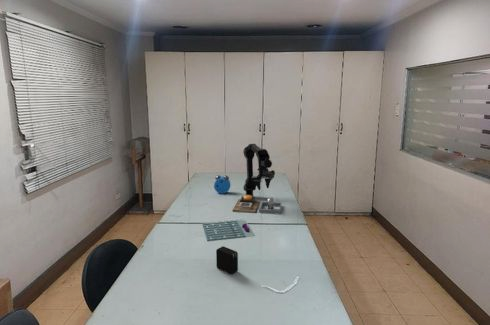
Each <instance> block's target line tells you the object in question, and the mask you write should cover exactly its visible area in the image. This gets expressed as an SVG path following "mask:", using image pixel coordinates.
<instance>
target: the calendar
mask: <svg viewBox="0 0 490 325" xmlns="http://www.w3.org/2000/svg"><path fill="white" fill-rule="evenodd" d="M245 220H246V219H236V220H224V221H218V222H216V221H215V222H214V221H211V222H205V223H203V222H202V223H201V225H202V228H203V231H204V234H205V237H206V242H211V241H219V240H228V239H229V240H230V239H238V238H247V237H256V235H255V233H254V232H253V230H252V228H251V227H250V225H249V223H248V222H247V220H246V221H245Z"/></svg>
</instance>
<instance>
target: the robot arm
mask: <svg viewBox="0 0 490 325" xmlns="http://www.w3.org/2000/svg"><path fill="white" fill-rule="evenodd" d="M242 152H243V157H244V158H245V159H246V179H245V181H244V185H243V187H242V188H243V191H245V195H251V196H254V191H256V189H258V191H261V184H262V183H261V182H262V181H263V179H264V181H265V186H266V189H269V188H270V185H271V184H270V183H271V181H272V180H273V179H274V178H275V175H276V172H275V170H269V168H270V169H271V167H272V166H273V162H272V160H270V159H271V158H270V154H269V152H268V150H267V148H261V147H260V146H258V145H257V144H256V143H248V145H247V146H245V147H244V149H243V151H242ZM255 156H256V158H257V163H258V164H257V165H258V168H257V171H258V174H257V175H254V168H253V167H254V164H253V163H254V162H253V160H254V157H255Z"/></svg>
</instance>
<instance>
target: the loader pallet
mask: <svg viewBox="0 0 490 325" xmlns="http://www.w3.org/2000/svg"><path fill="white" fill-rule="evenodd" d="M243 196H244V195H241V198H238V200H237V201H236V203H235V205H234V206H233V208H232V212H235V213H250V214H251V213H252V214H256V211H257V208H258V206H259V204H260V200H259V199H256V196H255V195H253V196H252V200H244V197H243Z"/></svg>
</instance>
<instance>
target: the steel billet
mask: <svg viewBox="0 0 490 325" xmlns="http://www.w3.org/2000/svg"><path fill="white" fill-rule="evenodd" d="M267 202H268V206H267V209H274V210H275V206H274V202H275V198H274V197H267Z"/></svg>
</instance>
